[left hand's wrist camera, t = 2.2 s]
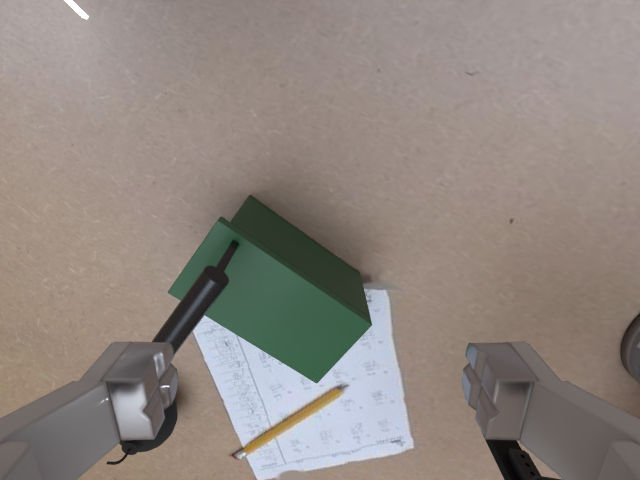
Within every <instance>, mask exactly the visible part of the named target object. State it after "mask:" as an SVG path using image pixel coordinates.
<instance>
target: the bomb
mask: <svg viewBox="0 0 640 480" xmlns="http://www.w3.org/2000/svg"><path fill="white" fill-rule="evenodd" d="M164 416H165V419H164V421H163V423H162V425H161V427H160V429H159V431H158V433H157V435H156V437H155V439H151V440H120V443H119V444H121V445H122V450H123V452H124V453H126V454H125V456H124V457H123V458H122V459H121V460H119V461H116V462H107V464H111V465H115V464H119V463H121V462H122V461H123V460H124V459H125V458H126V457H127V455H134V454H136V453H137V452H145V451H149V450H152V449H154V448H156V447H158V446H160V445H161V444H162V443H163V442H164V441H165V440H166V439H167V438H168V437H169V436H170V435H171V433H172V432H173V430H174V427H175V424H176V421H177V406H176V403H175V401H174V400H173V403H172V405H171V406H169V407H168V408H167V409H165V410H164Z"/></svg>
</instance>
